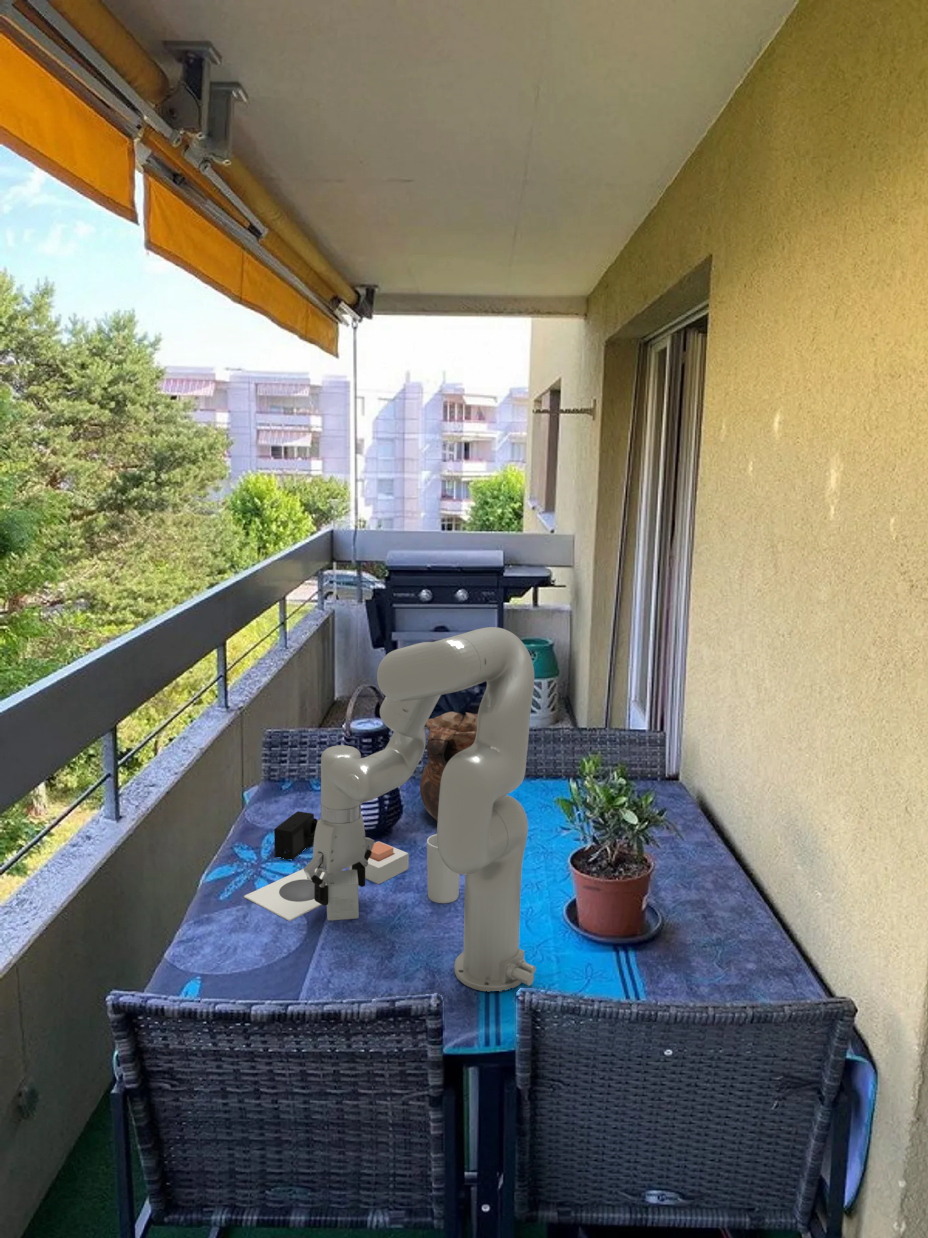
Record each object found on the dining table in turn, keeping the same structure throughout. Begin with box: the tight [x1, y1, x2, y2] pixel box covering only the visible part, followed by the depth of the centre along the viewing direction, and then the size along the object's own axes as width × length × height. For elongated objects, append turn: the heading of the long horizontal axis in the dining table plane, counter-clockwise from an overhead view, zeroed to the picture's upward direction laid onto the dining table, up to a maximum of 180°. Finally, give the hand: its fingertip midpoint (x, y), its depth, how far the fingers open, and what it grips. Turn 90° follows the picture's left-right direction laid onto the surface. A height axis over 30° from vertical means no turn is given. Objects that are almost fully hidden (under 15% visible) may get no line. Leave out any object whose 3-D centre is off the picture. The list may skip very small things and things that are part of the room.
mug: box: [426, 833, 461, 904], centre depth 178 cm, size 10×7×12 cm, turn 167°
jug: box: [419, 711, 478, 822], centre depth 214 cm, size 22×21×25 cm
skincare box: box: [326, 869, 360, 922], centre depth 171 cm, size 6×6×7 cm
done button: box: [369, 841, 394, 862], centre depth 188 cm, size 4×4×2 cm
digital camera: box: [273, 810, 319, 861], centre depth 197 cm, size 10×5×7 cm, turn 162°
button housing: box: [348, 840, 410, 885], centre depth 188 cm, size 9×9×4 cm
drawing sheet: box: [243, 868, 325, 922], centre depth 179 cm, size 14×18×1 cm
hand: (340, 893), depth 171 cm, fingers open, 9 cm apart
